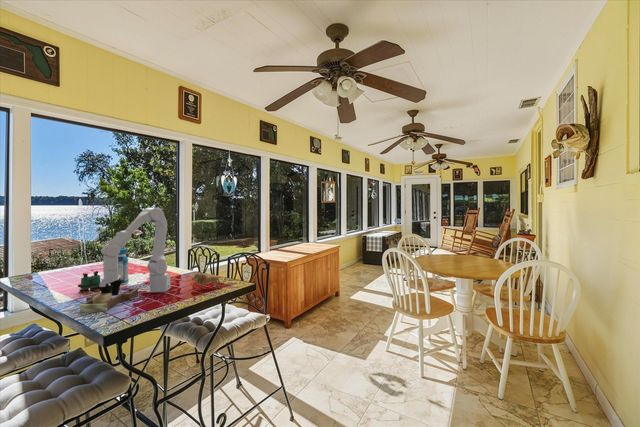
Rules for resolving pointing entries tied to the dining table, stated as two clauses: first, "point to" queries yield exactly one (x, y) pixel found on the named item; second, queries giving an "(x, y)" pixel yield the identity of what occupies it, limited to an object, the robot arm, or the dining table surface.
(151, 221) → the robot arm
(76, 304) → the dining table surface
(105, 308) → the trap lane
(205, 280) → the lion figurine
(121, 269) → the beverage bottle
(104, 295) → the beech block
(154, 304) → the dining table surface
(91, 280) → the green toy train
